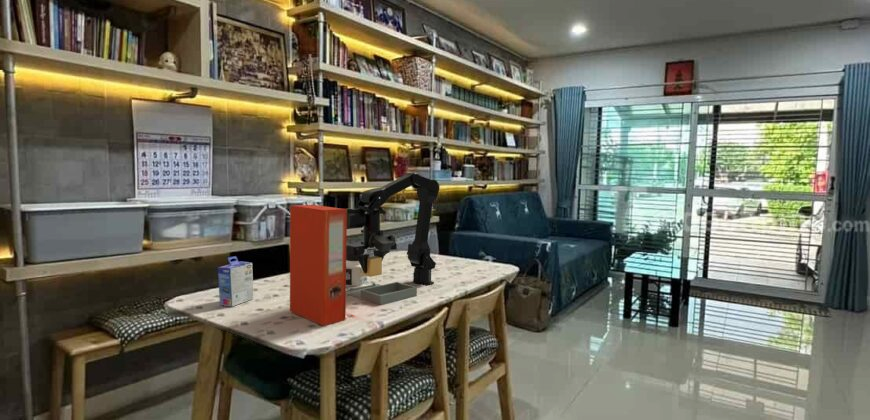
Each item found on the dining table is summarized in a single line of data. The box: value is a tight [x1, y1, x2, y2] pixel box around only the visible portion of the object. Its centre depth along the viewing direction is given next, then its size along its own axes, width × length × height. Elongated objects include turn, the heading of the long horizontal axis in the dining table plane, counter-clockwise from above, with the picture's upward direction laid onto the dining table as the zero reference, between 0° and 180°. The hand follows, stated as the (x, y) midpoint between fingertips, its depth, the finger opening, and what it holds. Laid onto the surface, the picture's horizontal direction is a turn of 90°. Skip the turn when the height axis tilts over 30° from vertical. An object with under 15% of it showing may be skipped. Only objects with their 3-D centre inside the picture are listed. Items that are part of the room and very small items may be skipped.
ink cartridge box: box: [217, 255, 254, 308], centre depth 148 cm, size 10×6×14 cm, turn 161°
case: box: [360, 281, 418, 306], centre depth 156 cm, size 16×11×4 cm, turn 137°
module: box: [361, 254, 383, 278], centre depth 162 cm, size 5×5×6 cm
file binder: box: [289, 204, 348, 326], centre depth 136 cm, size 8×17×32 cm, turn 46°
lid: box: [346, 282, 382, 299], centre depth 163 cm, size 16×10×2 cm, turn 137°
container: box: [346, 254, 368, 288], centre depth 174 cm, size 8×8×13 cm
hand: (371, 271), depth 162 cm, fingers closed on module, 5 cm apart
